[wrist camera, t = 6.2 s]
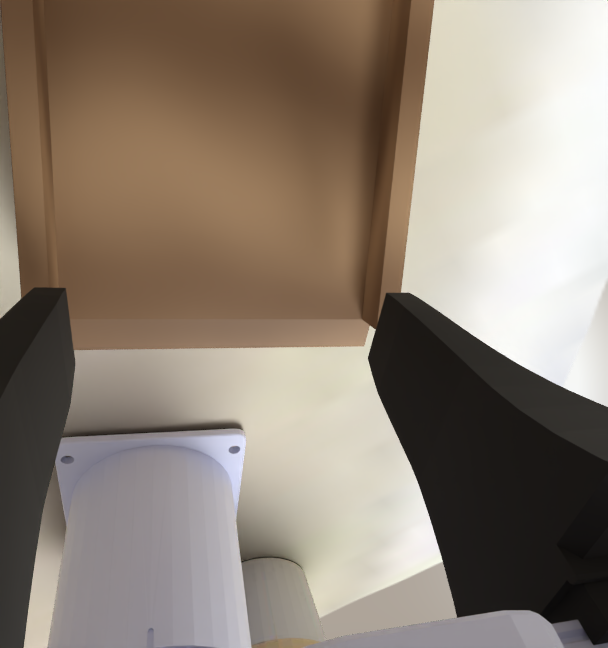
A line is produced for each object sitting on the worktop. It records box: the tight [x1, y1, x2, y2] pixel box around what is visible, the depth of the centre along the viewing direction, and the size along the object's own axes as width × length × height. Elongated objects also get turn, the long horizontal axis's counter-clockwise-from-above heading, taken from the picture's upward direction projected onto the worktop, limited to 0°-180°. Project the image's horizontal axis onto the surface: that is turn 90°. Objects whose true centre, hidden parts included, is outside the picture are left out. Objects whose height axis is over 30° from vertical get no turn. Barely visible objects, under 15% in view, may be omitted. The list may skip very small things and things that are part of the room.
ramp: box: [0, 0, 434, 350], centre depth 14 cm, size 14×10×7 cm
